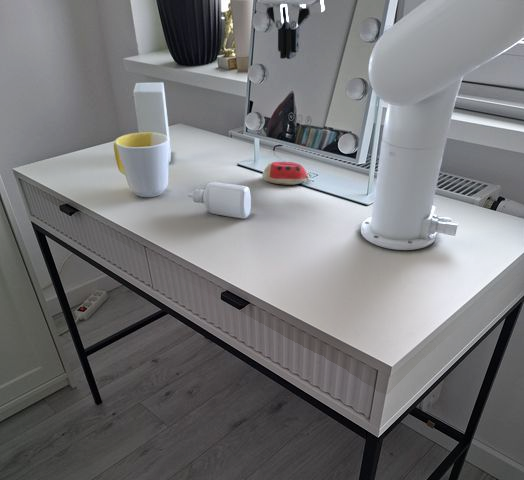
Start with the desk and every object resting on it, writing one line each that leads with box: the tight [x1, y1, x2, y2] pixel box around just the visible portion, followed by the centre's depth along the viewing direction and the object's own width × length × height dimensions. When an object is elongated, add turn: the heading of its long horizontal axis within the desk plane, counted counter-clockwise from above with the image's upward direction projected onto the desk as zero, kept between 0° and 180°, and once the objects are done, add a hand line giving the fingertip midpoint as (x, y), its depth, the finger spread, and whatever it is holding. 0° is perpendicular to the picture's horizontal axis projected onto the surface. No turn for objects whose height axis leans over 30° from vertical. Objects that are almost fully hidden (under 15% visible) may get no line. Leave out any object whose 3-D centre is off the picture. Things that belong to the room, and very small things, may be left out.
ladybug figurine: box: [262, 161, 310, 186], centre depth 106 cm, size 7×10×4 cm
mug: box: [113, 132, 170, 198], centre depth 101 cm, size 14×10×10 cm
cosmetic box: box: [132, 81, 172, 164], centre depth 115 cm, size 8×7×16 cm
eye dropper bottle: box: [187, 181, 252, 220], centre depth 93 cm, size 4×6×12 cm
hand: (288, 57), depth 81 cm, fingers closed
